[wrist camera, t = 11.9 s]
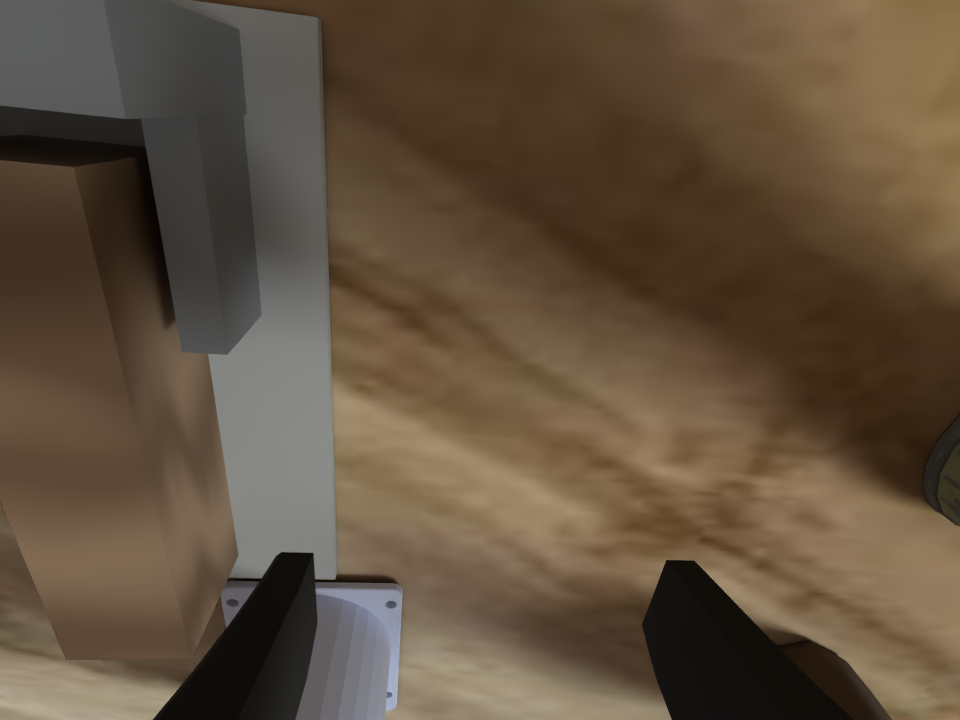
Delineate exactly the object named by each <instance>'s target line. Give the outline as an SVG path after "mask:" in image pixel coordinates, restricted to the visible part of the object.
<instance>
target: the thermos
mask: <svg viewBox="0 0 960 720" xmlns="http://www.w3.org/2000/svg"><path fill="white" fill-rule="evenodd" d="M923 488H924V491H925V494H926V496H927V499H928V502H929V504H930V505H931V506H932V507H934V508H935V509H936V510H937V511H939V512H940V513H941V514H942V515H944V516H945V517H946V518H947V519H949V520H950V521H951V522H952V523H954V524H955V525H957V526H960V415H959V417H958V418H957V419H956V420H955V421H954V422H953V423H952V425H951V426H950V427H949V428H948V429H947V430H946V431H945V433H944V434H943V435H942V436H941V437H940V438H939V440H938V441H937V443H936V445H935V447H934V449H933V451H932V453H931V455H930V457H929V459H928V461H927V463H926V467H925V474H924V482H923Z"/></svg>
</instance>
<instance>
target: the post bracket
mask: <svg viewBox="0 0 960 720" xmlns="http://www.w3.org/2000/svg"><path fill="white" fill-rule="evenodd" d="M11 135H32V136H42V137H51V138H61V139H71V140H81V141H91V142H100V143H110V144H120V145H130V146H140V147H146V151H147V157H148V163H149V169H150V174H151V180H152V186H153V191H154V197H155V203H156V208H157V214H158V220H159V225H160V231H161V237H162V243H163V248H164V254H165V260H166V265H167V271H168V277H169V282H170V288H171V294H172V299H173V305H174V311H175V317H176V322H177V328H178V334H179V339H180V345H181V351H182V352H187V353H204V354H208V357H209V363H210V370H211V377H212V383H213V390H214V397H215V403H216V410H217V416H218V423H219V430H220V436H221V443H222V449H223V456H224V463H225V469H226V476H227V483H228V489H229V496H230V502H231V509H232V516H233V522H234V529H235V536H236V542H237V549H238V555H239V556H238V558H237V560H236V562H235V564H234V567H233V569H232V571H231V573H230V575H229V578H262V577H263V575H264V574H265V572H266V571H267V569H268V568H269V566H270V564H271V563H272V561H273V560H274V558H275V557H276V556H277V555H278V554H279V553H281V552H300V553H314V568H315V579H336V574H337V539H336V505H335V470H334V436H333V401H332V367H331V332H330V298H329V264H328V229H327V195H326V160H325V126H324V91H323V57H322V22H321V19H319V18H318V17H312V16H305V15H297V14H290V13H283V12H275V11H268V10H260V9H253V8H245V7H238V6H230V5H223V4H215V3H208V2H201V1H193V0H0V136H11Z"/></svg>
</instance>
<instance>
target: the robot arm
mask: <svg viewBox="0 0 960 720" xmlns="http://www.w3.org/2000/svg"><path fill="white" fill-rule="evenodd" d="M402 596H403V590H402V587H401V586H400V585H398V584H394V583H345V582H315V568H314V553H300V552H281V553H279V554H278V555H277V556H276V557H275V558H274V560H273V561H272V563H271V564H270V566H269V568H268V569H267V571H266V572H265V574H264V575H263V577H262V578H261V580H260V581H229V582H227V583H226V584H225V587H224V589H223V591H222V593H221V595H220V597H221V602H222V608H223V614H224V619H225V625H226V629H225V630H224V632H223V633H222V634H221V636H220V637H219V638H218V639H217V641H216V642H215V643H214V645H213V646H212V647H211V649H210V650H209V651H208V653H207V654H206V655H205V657H204V658H203V659H202V660H201V662H200V663H199V664H198V666H197V667H196V668H195V669H194V671H193V672H192V673H191V674H190V675H189V677H188V678H187V679H186V680H185V682H184V683H183V684H182V685H181V686H180V688H179V689H178V690H177V691H176V692H175V694H174V695H173V696H172V697H171V698H170V700H169V701H168V702H167V703H166V704H165V706H164V707H163V708H162V709H161V710H160V712H159V713H158V714H157V715H156V716H155V718H154V719H153V720H385V711H390V710H393V709H394V708H395V707H396V705H397V689H398V670H399V652H400V633H401V615H402ZM642 626H643V630H644V634H645V638H646V642H647V646H648V650H649V654H650V658H651V661H652V665H653V668H654V672H655V675H656V679H657V682H658V684H659V687H660V690H661V692H662V695H663V698H664V700H665V703H666V705H667V708H668V711H669V713H670V716H671V719H672V720H854V719H853V718H852V717H851V716H850V715H849V714H847V713H846V712H845V711H844V710H843V709H842V708H841V707H840V706H839V705H838V704H837V703H836V702H835V701H833V700H832V699H831V698H830V697H829V696H828V695H827V694H826V693H825V692H824V691H823V690H822V689H821V688H819V687H818V686H817V685H816V684H815V683H814V682H813V681H812V680H811V679H810V678H809V677H808V676H807V675H806V674H805V673H804V672H803V671H802V670H801V669H800V668H799V667H798V666H797V665H796V664H795V663H794V662H793V661H792V660H791V659H790V658H789V657H787V656H786V655H785V654H784V653H783V652H782V651H781V650H780V649H779V647H778V646H777V645H776V644H775V643H774V642H773V641H772V640H771V639H770V638H769V637H768V636H767V635H766V634H765V633H764V632H763V631H762V630H761V629H760V628H759V627H758V626H757V625H756V624H755V623H754V622H753V621H752V620H751V619H750V618H749V617H748V616H747V615H746V614H745V613H744V612H743V611H742V610H741V609H740V608H739V607H738V605H737V604H736V603H735V602H734V601H733V600H732V599H731V598H730V597H729V596H728V595H727V594H726V593H725V592H724V591H723V590H722V589H721V588H720V587H719V586H718V585H717V584H716V583H715V582H714V580H713V579H712V578H711V577H710V576H709V575H708V574H707V573H706V572H705V571H704V570H703V569H702V568H701V567H700V566H699V565H698V564H697V563H696V562H695V561H683V560H666V563H665V565H664V568H663V571H662V573H661V576H660V579H659V581H658V584H657V587H656V589H655V592H654V594H653V597H652V600H651V602H650V605H649V608H648V610H647V613H646V616H645V618H644V621H643V624H642Z"/></svg>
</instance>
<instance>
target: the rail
mask: <svg viewBox="0 0 960 720" xmlns="http://www.w3.org/2000/svg"><path fill="white" fill-rule="evenodd" d="M0 502H1V505H2V507H3V510H4V512H5V514H6V517H7V519H8V522H9V524H10V526H11V529H12V531H13V534H14V536H15V538H16V541H17V543H18V546H19V548H20V550H21V553H22V555H23V558H24V560H25V562H26V565H27V567H28V570H29V572H30V574H31V577H32V579H33V582H34V584H35V586H36V589H37V591H38V594H39V596H40V598H41V601H42V603H43V606H44V608H45V611H46V613H47V615H48V618H49V620H50V623H51V625H52V627H53V630H54V632H55V635H56V637H57V639H58V642H59V644H60V647H61V649H62V651H63V654H64V656H65V659H66V660H191V659H192V657H193V655H194V653H195V651H196V648H197V646H198V644H199V642H200V640H201V637H202V635H203V633H204V631H205V629H206V626H207V624H208V622H209V620H210V617H211V615H212V613H213V611H214V609H215V606H216V604H217V602H218V600H219V598H220V595H221V593H222V591H223V589H224V587H225V584H226V582H227V580H228V578H229V575H230V573H231V571H232V569H233V567H234V564H235V562H236V560H237V558H238V556H239V555H238V549H237V542H236V536H235V529H234V522H233V516H232V509H231V502H230V496H229V489H228V483H227V476H226V469H225V463H224V456H223V449H222V443H221V436H220V430H219V423H218V416H217V410H216V403H215V397H214V390H213V383H212V377H211V370H210V363H209V357H208V354H204V353H187V352H182V351H181V345H180V339H179V334H178V328H177V322H176V317H175V311H174V305H173V299H172V294H171V288H170V282H169V277H168V271H167V265H166V260H165V254H164V248H163V243H162V237H161V231H160V225H159V220H158V214H157V208H156V203H155V197H154V191H153V186H152V180H151V174H150V169H149V163H148V157H147V151H146V147H140V146H130V145H120V144H110V143H100V142H91V141H81V140H71V139H61V138H51V137H42V136H32V135H11V136H0Z"/></svg>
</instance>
